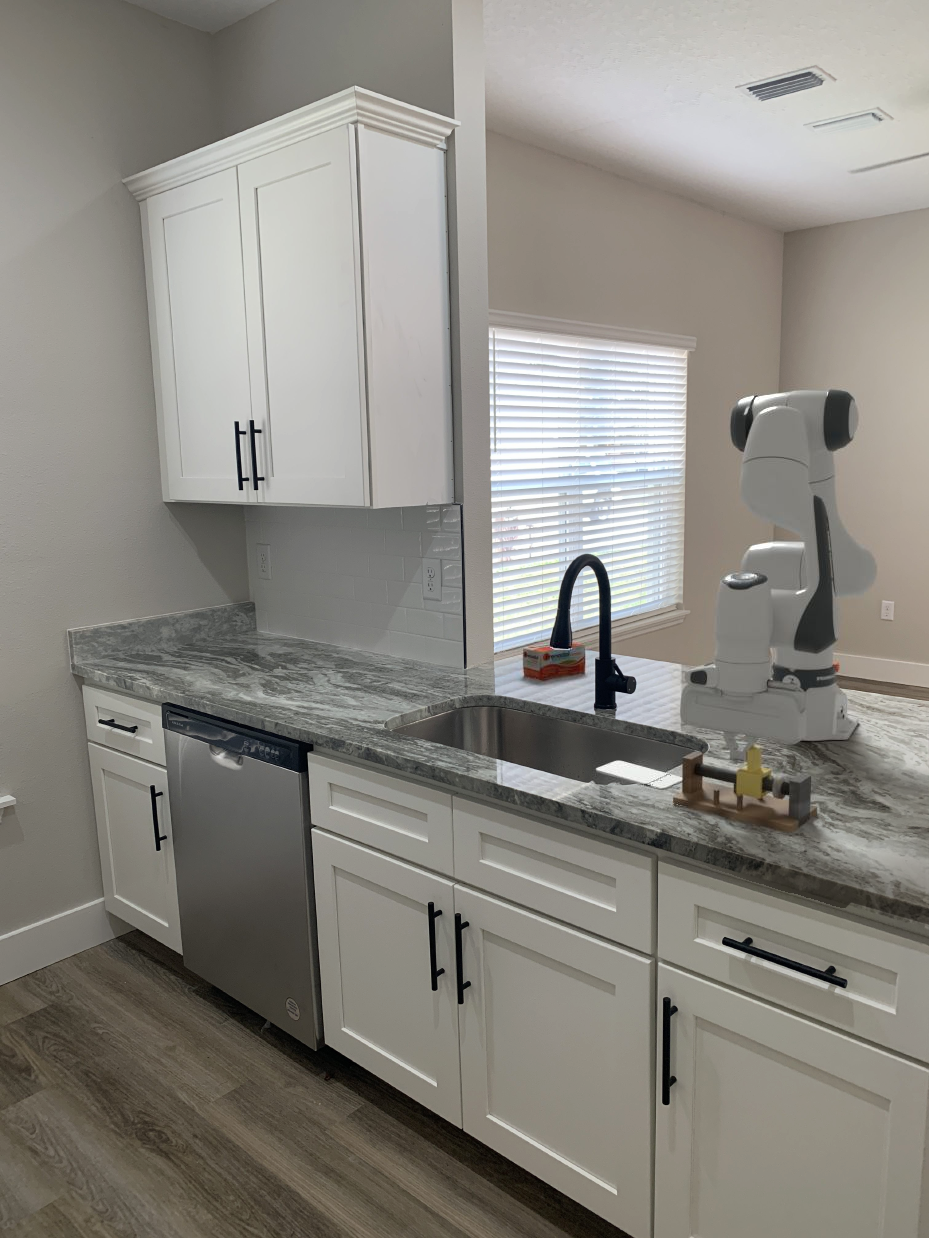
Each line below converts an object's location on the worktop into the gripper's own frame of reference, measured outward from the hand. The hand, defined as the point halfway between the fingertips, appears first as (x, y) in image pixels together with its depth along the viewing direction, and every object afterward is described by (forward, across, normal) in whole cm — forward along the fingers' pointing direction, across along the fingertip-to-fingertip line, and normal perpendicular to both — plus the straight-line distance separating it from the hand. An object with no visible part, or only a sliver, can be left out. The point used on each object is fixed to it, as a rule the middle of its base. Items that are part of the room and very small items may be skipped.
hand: (740, 759), depth 151 cm
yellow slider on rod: (+8, -1, 0) cm, 8 cm away
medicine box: (+8, +82, -59) cm, 101 cm away
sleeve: (+5, -2, 0) cm, 6 cm away
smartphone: (+9, +21, -4) cm, 23 cm away
